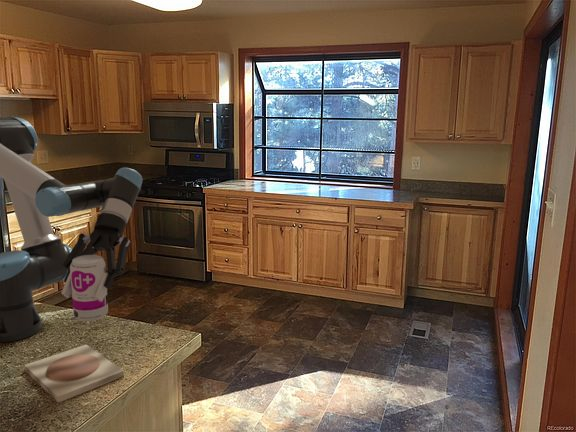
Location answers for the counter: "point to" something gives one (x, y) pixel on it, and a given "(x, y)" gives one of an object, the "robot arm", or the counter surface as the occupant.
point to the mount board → (73, 372)
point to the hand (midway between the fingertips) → (81, 297)
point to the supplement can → (87, 287)
